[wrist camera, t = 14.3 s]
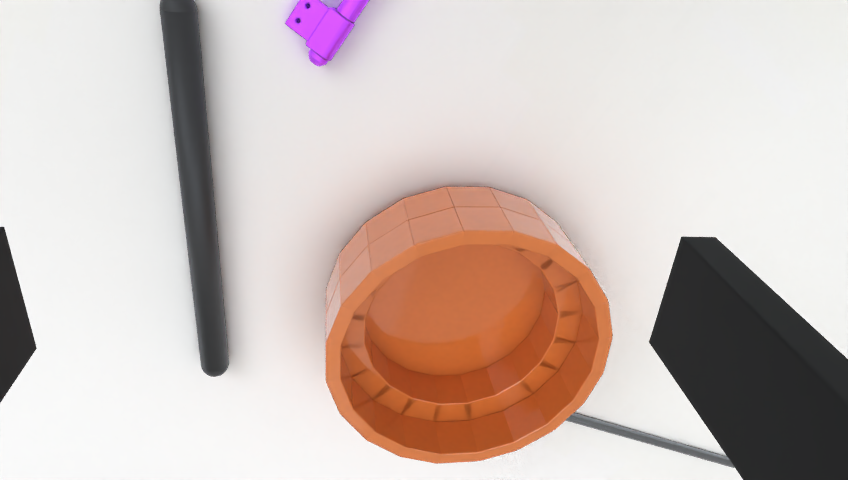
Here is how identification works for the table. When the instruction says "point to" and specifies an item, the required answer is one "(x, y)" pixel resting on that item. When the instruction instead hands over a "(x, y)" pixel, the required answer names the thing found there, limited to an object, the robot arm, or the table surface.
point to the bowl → (462, 326)
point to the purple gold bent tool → (324, 26)
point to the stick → (195, 177)
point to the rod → (649, 439)
